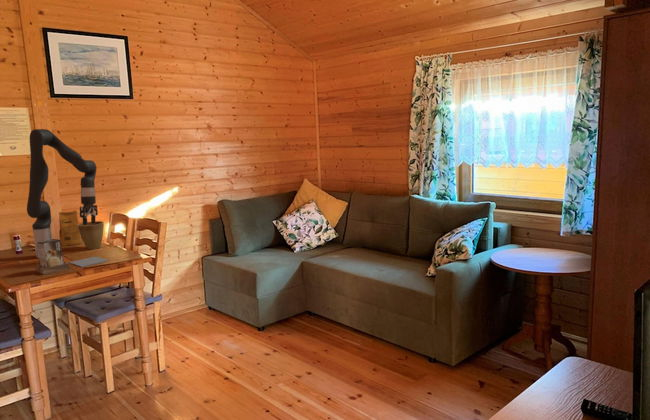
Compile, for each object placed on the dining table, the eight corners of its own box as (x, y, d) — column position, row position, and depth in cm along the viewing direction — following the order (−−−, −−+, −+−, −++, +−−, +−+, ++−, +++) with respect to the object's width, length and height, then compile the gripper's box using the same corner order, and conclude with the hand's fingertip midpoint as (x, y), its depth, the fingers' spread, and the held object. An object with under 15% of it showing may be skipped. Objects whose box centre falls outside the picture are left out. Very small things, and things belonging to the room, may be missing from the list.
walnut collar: (36, 271, 260) (35, 266, 260) (61, 266, 270) (61, 260, 269) (43, 274, 254) (42, 269, 253) (69, 268, 264) (69, 263, 263)
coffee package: (60, 244, 327) (56, 211, 323) (81, 241, 332) (77, 209, 329) (60, 246, 318) (56, 213, 314) (81, 244, 324) (77, 211, 320)
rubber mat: (69, 263, 275) (69, 262, 275) (96, 257, 287) (95, 256, 286) (81, 267, 266) (81, 266, 266) (108, 261, 277) (108, 259, 277)
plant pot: (100, 244, 321) (97, 220, 318) (110, 247, 310) (107, 222, 308) (76, 249, 310) (73, 224, 308) (85, 252, 300) (82, 226, 297)
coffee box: (58, 267, 267) (54, 238, 265) (64, 268, 264) (61, 239, 261) (41, 271, 260) (37, 242, 257) (47, 273, 256) (43, 243, 254)
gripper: (88, 195, 287) (89, 222, 288) (74, 196, 273) (75, 225, 274) (101, 195, 286) (102, 222, 287) (87, 196, 272) (88, 225, 273)
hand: (89, 224), depth 281 cm, fingers open, 8 cm apart
